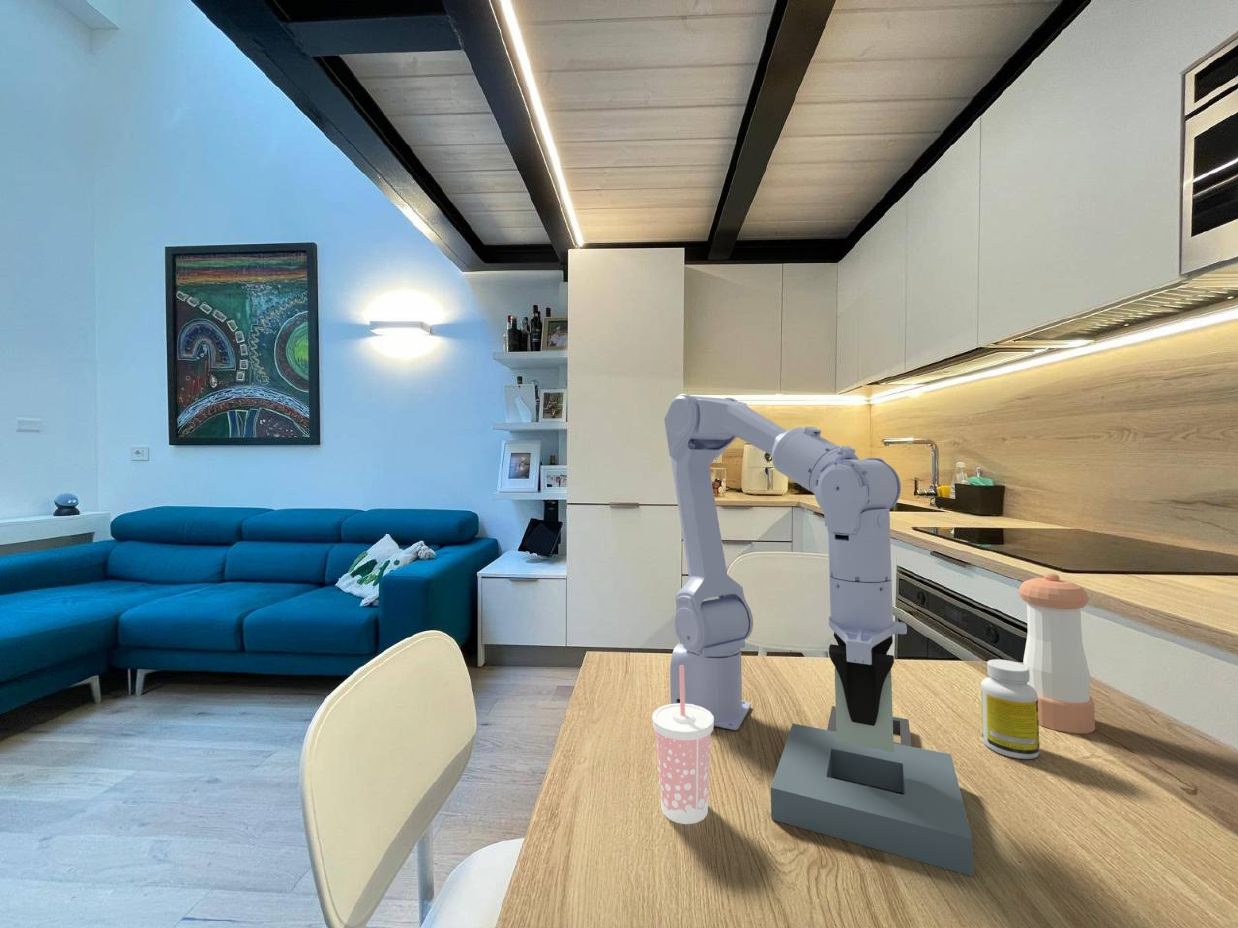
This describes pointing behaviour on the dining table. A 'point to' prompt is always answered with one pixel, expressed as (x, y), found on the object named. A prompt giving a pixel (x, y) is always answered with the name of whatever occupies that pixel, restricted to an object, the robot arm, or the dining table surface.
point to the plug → (863, 733)
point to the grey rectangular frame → (898, 726)
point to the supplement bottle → (1009, 710)
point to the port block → (874, 797)
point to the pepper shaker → (1058, 654)
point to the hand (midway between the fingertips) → (863, 712)
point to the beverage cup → (683, 758)
